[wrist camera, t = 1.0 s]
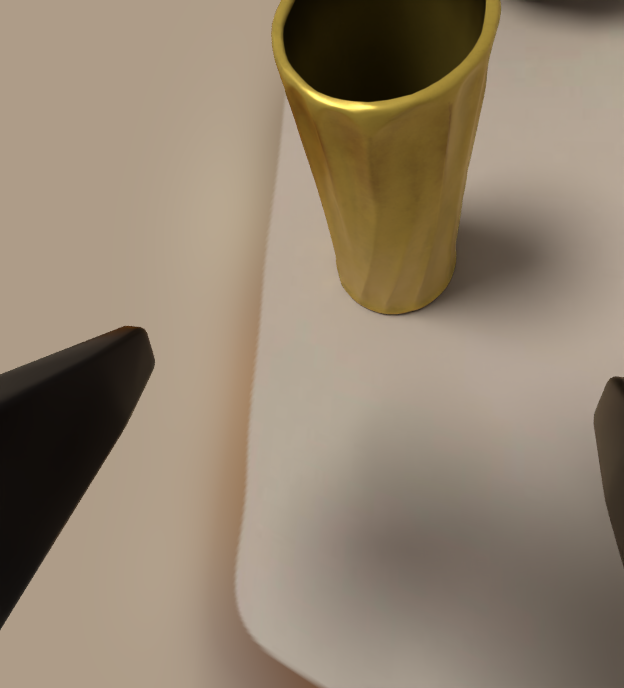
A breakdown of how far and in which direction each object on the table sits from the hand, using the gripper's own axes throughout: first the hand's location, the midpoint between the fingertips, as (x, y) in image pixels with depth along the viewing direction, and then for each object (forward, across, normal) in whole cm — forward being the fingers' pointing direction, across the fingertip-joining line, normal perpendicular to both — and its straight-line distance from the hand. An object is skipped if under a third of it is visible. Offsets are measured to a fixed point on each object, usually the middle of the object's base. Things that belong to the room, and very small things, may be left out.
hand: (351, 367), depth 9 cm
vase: (+16, 0, +5) cm, 16 cm away
